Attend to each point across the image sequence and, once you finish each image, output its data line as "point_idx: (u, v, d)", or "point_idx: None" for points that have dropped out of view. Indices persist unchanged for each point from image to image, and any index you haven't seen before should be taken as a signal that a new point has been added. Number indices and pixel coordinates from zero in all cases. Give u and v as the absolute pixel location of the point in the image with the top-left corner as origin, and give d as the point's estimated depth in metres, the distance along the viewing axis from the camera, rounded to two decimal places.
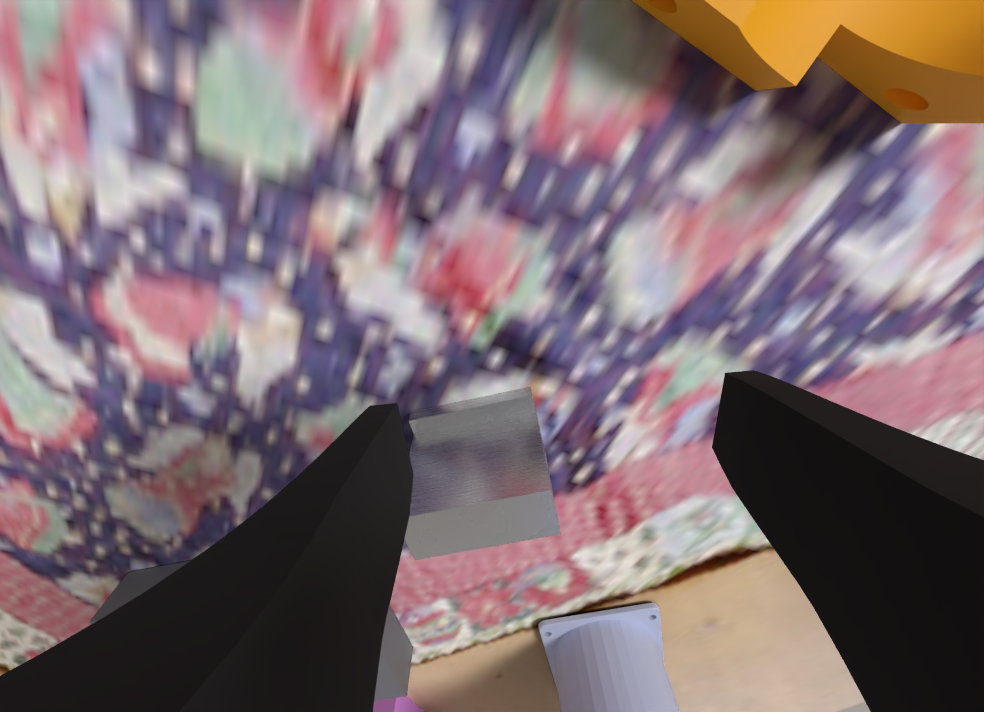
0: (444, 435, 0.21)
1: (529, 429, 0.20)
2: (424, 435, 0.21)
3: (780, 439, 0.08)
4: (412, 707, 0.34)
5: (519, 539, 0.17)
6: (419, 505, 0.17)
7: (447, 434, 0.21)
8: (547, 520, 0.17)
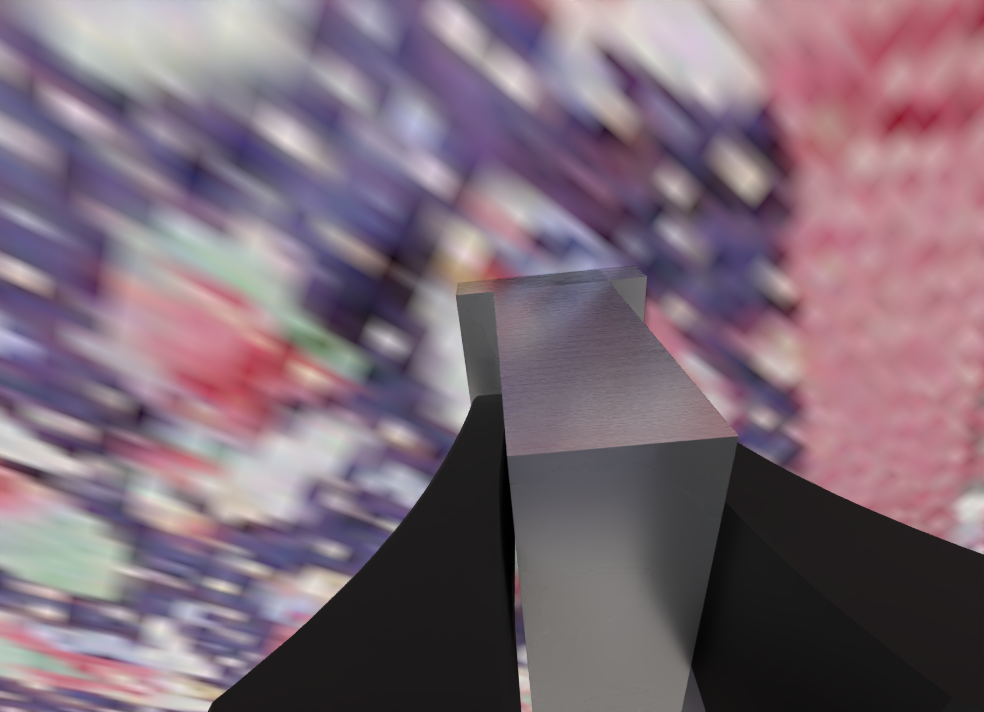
0: None
1: None
2: None
3: None
4: None
5: (707, 545, 0.05)
6: None
7: None
8: (652, 471, 0.05)
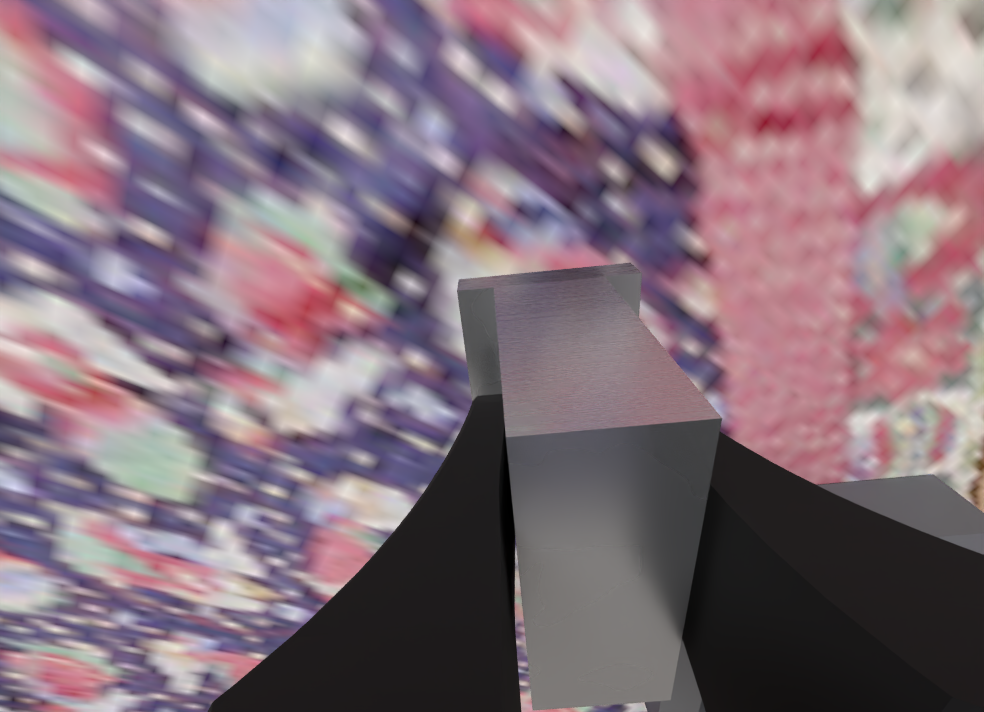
0: None
1: None
2: None
3: None
4: None
5: (694, 523, 0.06)
6: None
7: None
8: (642, 451, 0.05)
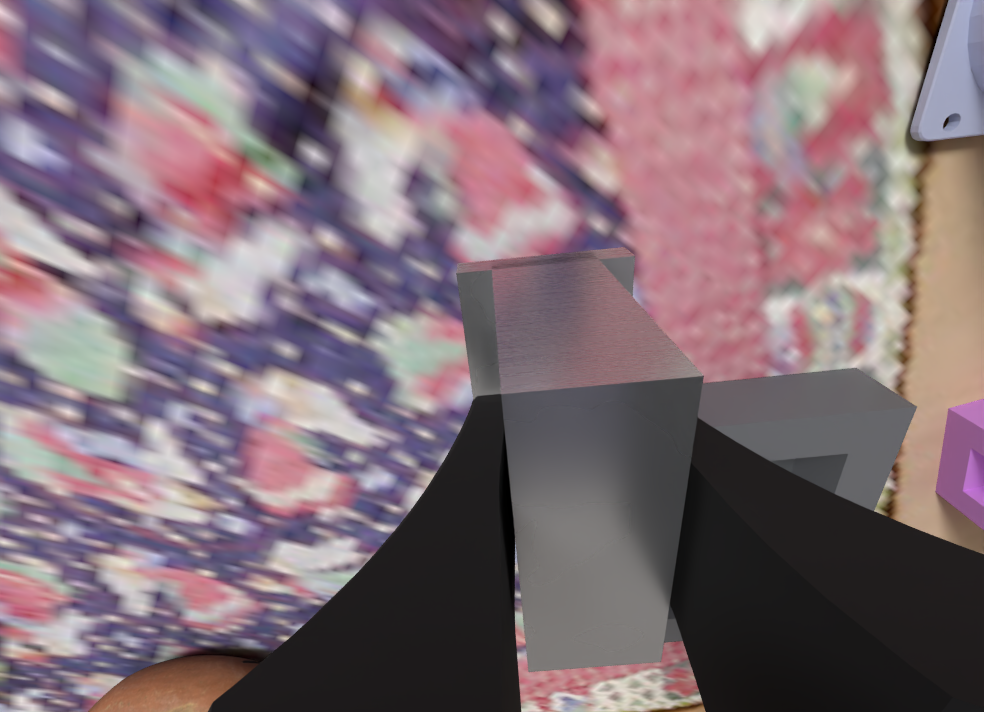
0: None
1: None
2: None
3: None
4: None
5: (680, 481, 0.06)
6: None
7: None
8: (629, 409, 0.05)
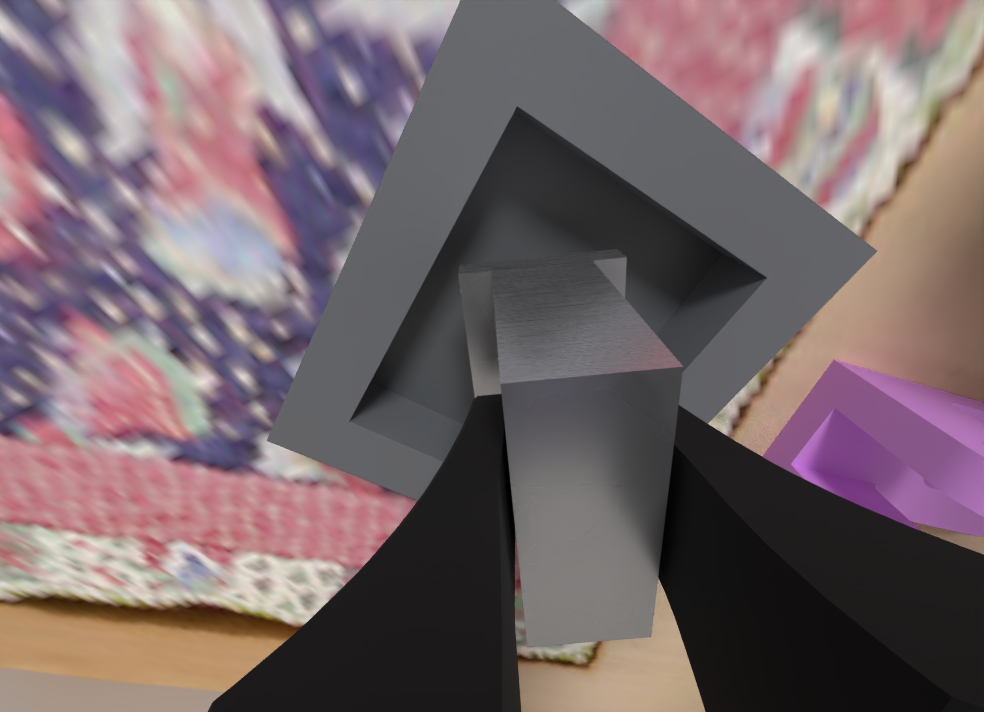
0: None
1: None
2: None
3: None
4: (891, 378, 0.17)
5: (664, 464, 0.06)
6: None
7: None
8: (616, 397, 0.06)
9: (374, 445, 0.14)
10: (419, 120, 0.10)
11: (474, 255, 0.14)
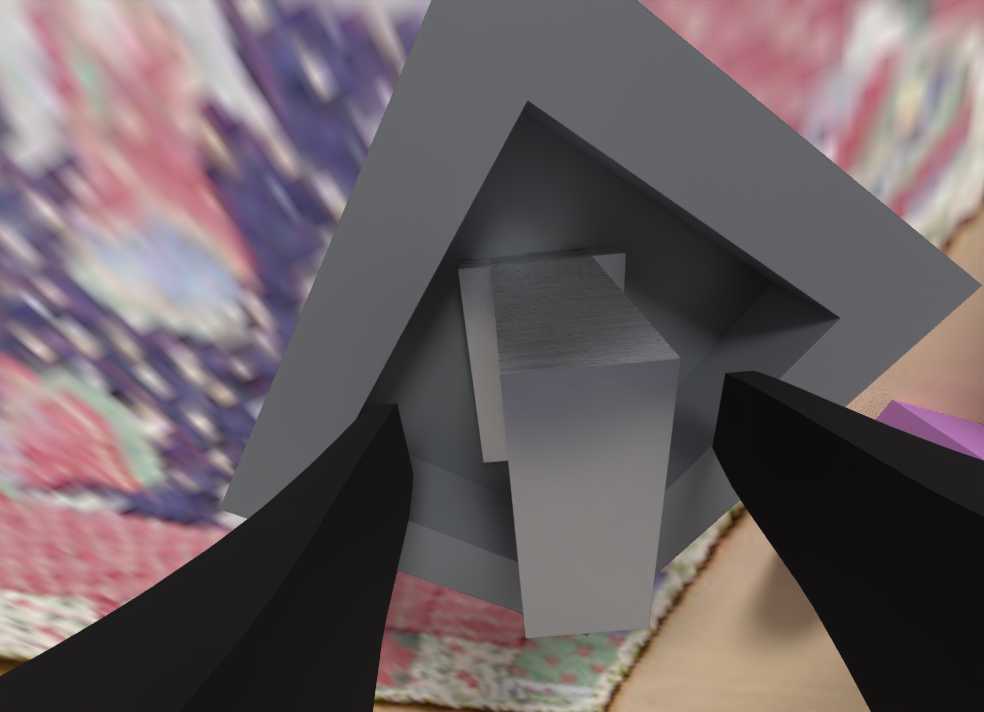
0: None
1: None
2: None
3: (780, 439, 0.08)
4: (959, 421, 0.14)
5: (662, 455, 0.07)
6: None
7: None
8: (614, 388, 0.06)
9: None
10: (397, 119, 0.07)
11: None
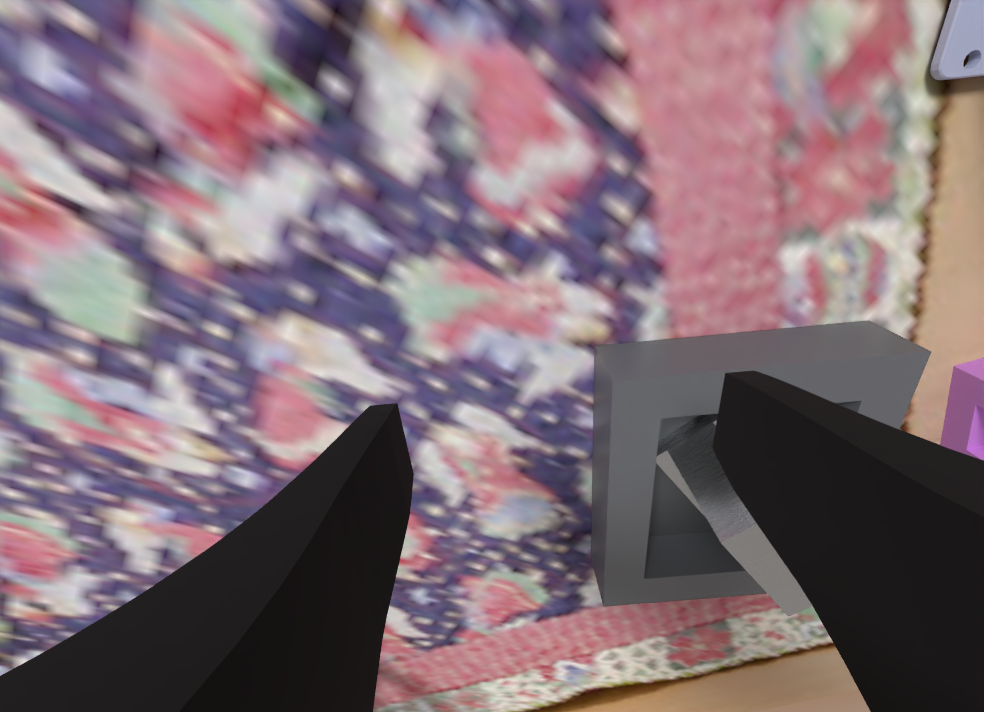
0: None
1: None
2: None
3: (779, 439, 0.08)
4: None
5: None
6: None
7: None
8: None
9: (663, 583, 0.23)
10: (615, 449, 0.18)
11: None
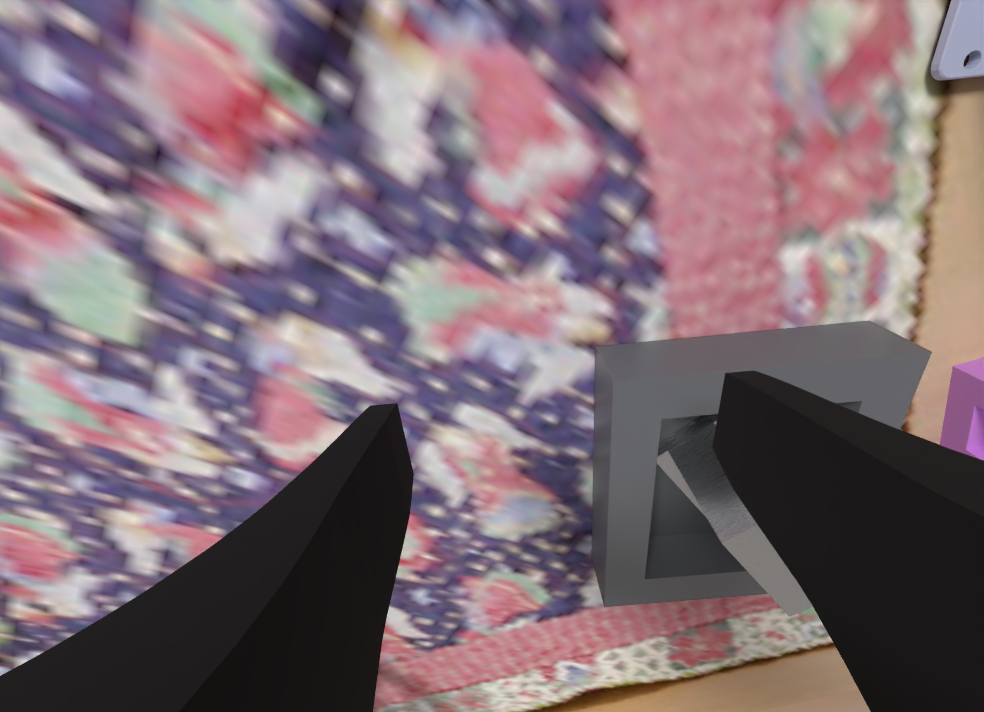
0: None
1: None
2: None
3: (780, 439, 0.08)
4: None
5: None
6: None
7: None
8: None
9: (664, 583, 0.23)
10: (616, 449, 0.18)
11: None
